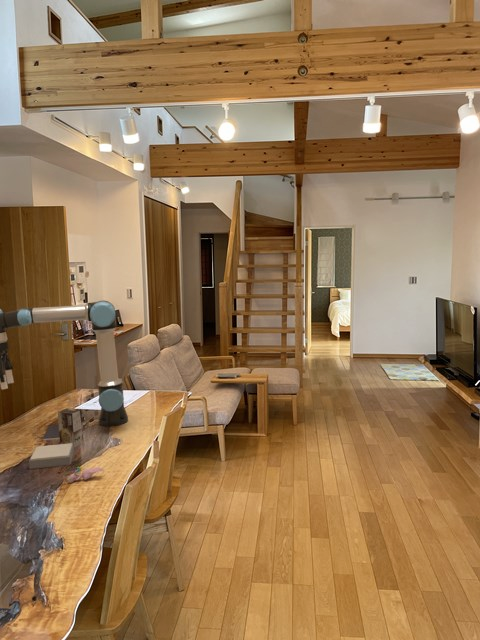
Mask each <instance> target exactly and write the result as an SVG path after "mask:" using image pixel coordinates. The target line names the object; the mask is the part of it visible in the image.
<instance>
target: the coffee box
mask: <svg viewBox="0 0 480 640" xmlns="http://www.w3.org/2000/svg"><path fill="white" fill-rule="evenodd" d="M82 412H83V411H82V409H78V408H77V409H76V408H64V409H62V410H60V411H57V422H58V424H57V425H59V436H60V439H59V444H69V443H72V444H74V448H77V447H79V446H82V445H83V444H84V441H85V440H84V431H83V428H84V427H83V415H82V414H83V413H82Z"/></svg>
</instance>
